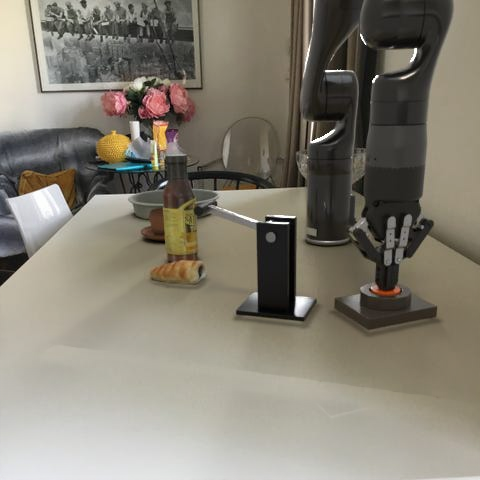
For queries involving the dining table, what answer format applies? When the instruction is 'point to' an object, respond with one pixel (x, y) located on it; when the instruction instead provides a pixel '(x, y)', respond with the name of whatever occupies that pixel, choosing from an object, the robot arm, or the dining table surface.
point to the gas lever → (225, 214)
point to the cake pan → (155, 200)
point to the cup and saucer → (155, 225)
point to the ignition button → (385, 293)
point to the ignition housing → (384, 307)
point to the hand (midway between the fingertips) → (386, 288)
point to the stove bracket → (277, 273)
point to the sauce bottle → (179, 211)
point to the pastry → (180, 272)
